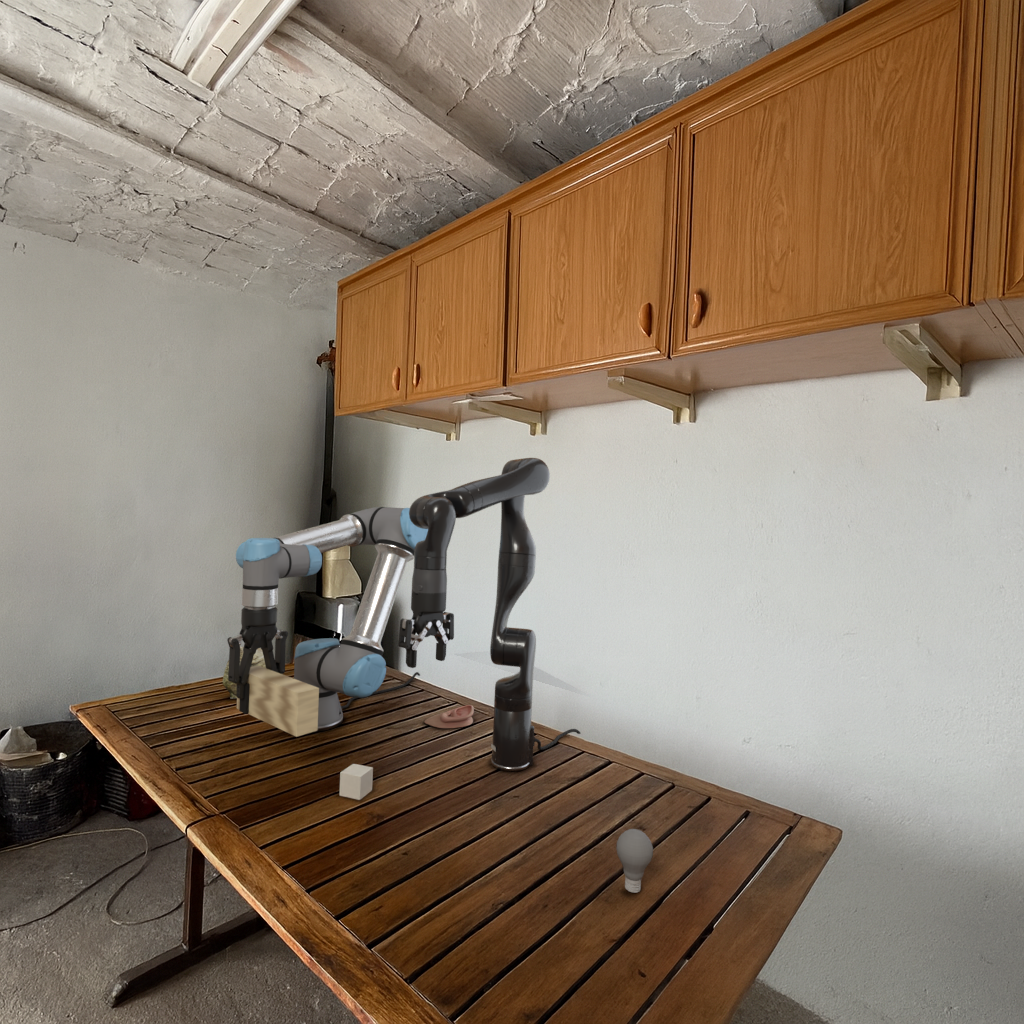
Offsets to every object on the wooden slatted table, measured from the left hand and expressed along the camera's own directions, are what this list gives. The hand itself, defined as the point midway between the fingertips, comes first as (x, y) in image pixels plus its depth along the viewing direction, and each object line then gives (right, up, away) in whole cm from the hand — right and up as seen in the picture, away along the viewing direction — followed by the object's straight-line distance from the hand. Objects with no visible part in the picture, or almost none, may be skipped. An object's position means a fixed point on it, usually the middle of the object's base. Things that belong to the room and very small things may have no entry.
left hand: (256, 708), depth 143 cm
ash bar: (+6, -1, -5) cm, 8 cm away
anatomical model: (+40, -16, +38) cm, 57 cm away
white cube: (+24, -16, -7) cm, 30 cm away
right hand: (+39, +12, -6) cm, 41 cm away
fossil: (-23, -13, +55) cm, 61 cm away
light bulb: (+78, -19, -38) cm, 89 cm away
